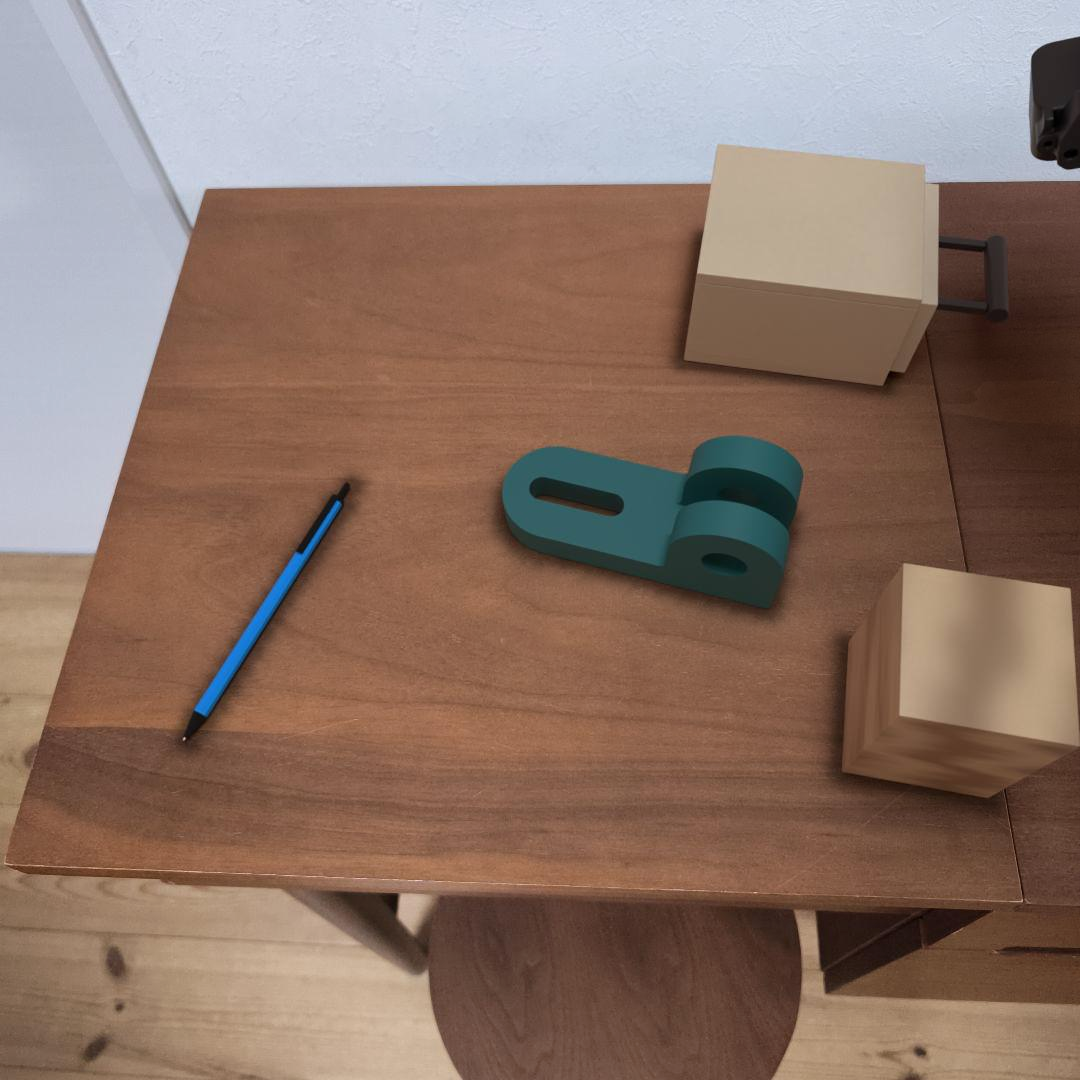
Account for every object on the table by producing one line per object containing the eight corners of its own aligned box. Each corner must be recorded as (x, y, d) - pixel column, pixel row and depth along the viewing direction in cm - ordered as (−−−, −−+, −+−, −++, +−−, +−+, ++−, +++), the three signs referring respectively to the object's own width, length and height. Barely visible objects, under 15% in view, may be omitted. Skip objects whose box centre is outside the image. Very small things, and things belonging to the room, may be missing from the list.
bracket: (787, 516, 61) (814, 451, 54) (768, 609, 58) (794, 552, 51) (522, 454, 64) (514, 385, 57) (491, 540, 61) (479, 477, 54)
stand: (985, 664, 56) (1071, 587, 46) (988, 798, 52) (1081, 746, 43) (848, 641, 57) (903, 562, 47) (841, 772, 53) (899, 715, 44)
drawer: (981, 266, 69) (1020, 192, 62) (983, 383, 64) (1026, 315, 58) (735, 238, 71) (749, 164, 65) (720, 349, 66) (734, 280, 60)
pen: (355, 489, 63) (351, 480, 62) (192, 745, 56) (185, 740, 55) (343, 485, 63) (339, 476, 62) (180, 739, 56) (172, 733, 55)
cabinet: (887, 259, 71) (925, 164, 63) (882, 386, 65) (923, 299, 57) (702, 238, 72) (717, 143, 64) (683, 360, 67) (696, 272, 59)
